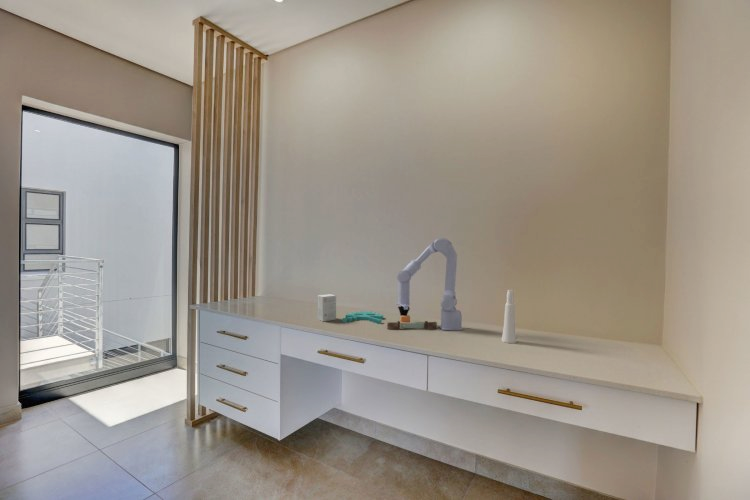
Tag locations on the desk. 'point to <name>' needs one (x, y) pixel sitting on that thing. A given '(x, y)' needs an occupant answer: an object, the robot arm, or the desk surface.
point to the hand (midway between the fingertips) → (403, 320)
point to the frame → (397, 325)
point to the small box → (326, 307)
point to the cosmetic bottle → (509, 320)
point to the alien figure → (363, 317)
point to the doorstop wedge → (405, 319)
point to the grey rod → (412, 325)
